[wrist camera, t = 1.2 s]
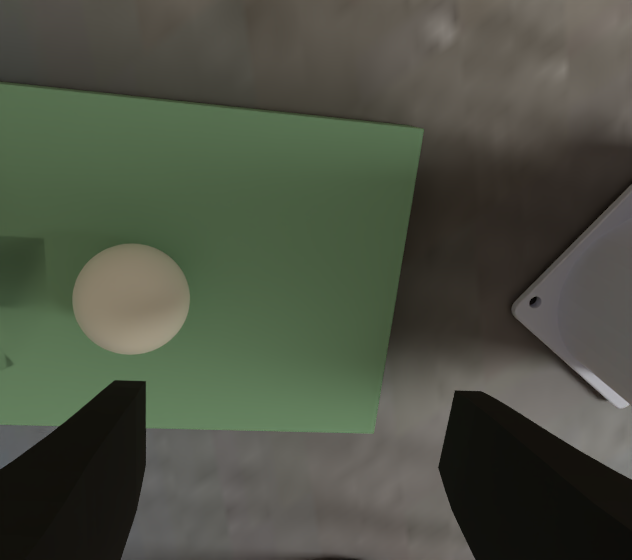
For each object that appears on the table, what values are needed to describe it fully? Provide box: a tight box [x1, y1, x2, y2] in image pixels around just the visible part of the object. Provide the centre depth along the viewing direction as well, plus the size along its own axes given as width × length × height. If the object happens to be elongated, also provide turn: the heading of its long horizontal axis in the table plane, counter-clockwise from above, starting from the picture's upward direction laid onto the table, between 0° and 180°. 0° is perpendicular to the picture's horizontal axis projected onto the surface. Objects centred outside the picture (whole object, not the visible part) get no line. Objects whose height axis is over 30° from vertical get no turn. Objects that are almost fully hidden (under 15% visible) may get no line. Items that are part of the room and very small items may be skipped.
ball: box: [72, 243, 190, 355], centre depth 17 cm, size 4×4×4 cm
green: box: [0, 82, 424, 434], centre depth 19 cm, size 24×12×2 cm, turn 84°
